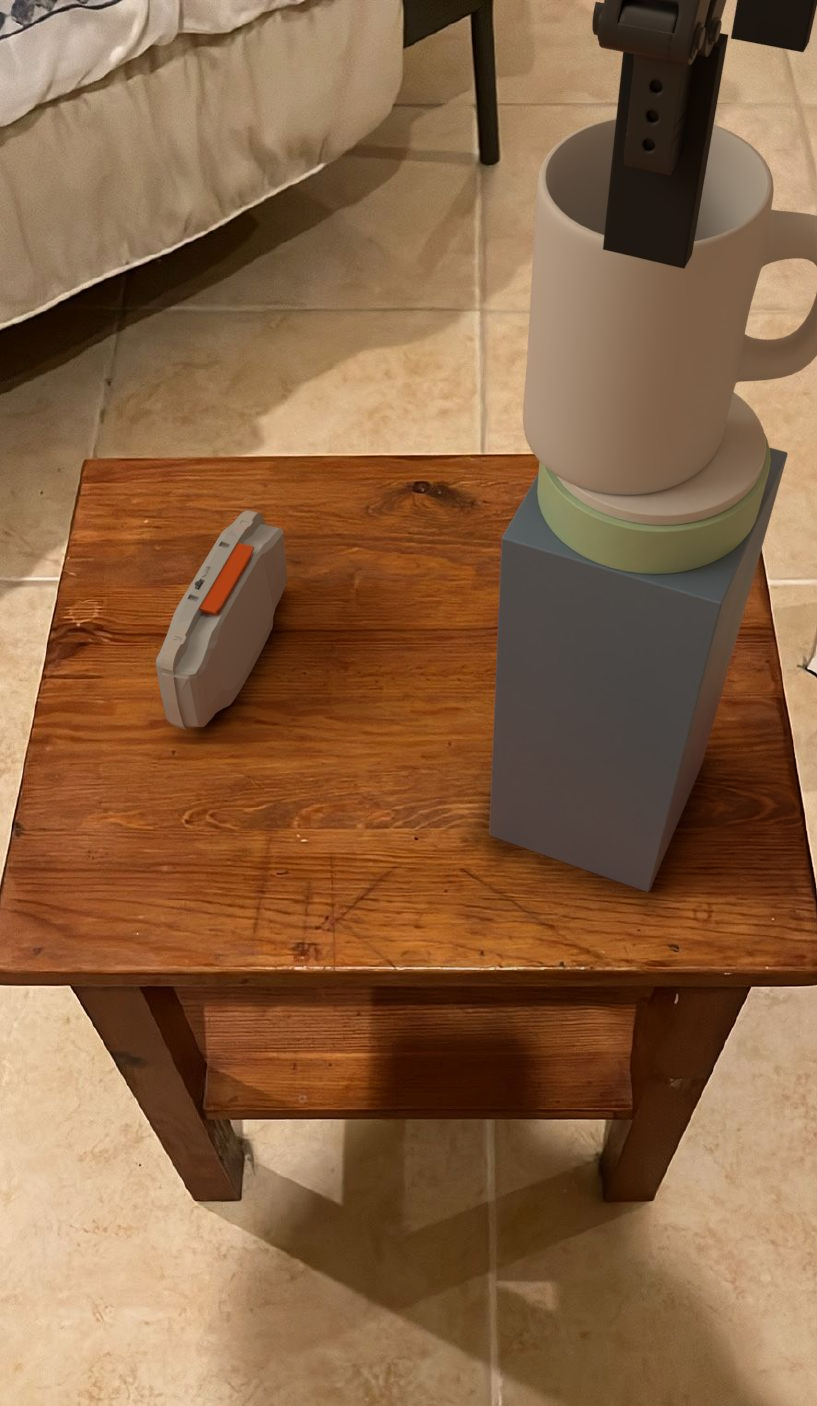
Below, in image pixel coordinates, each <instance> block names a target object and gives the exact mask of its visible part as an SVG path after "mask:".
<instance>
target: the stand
mask: <svg viewBox="0 0 817 1406" xmlns="http://www.w3.org/2000/svg"><path fill="white" fill-rule="evenodd" d="M769 448H770V458H771V462H770V469H769V474H768V478H767V481H766V485H765V489H764V493H763V496H762V500H761V504H760V508H759V512H758V515H757V518H756V521H755V523H754V525H753V527H752V529H751V531H750V533H749V534H748V535H747V536H746V538H745V539H744V540H743V541H742V542H741V543H740V544H739V545H738V546H737V547H736V548H735V549H734V550H732V551H731V552H729V553H728V554H727V555H725V556H724V557H722V558H720V559H718V560H716V561H714V562H712V563H710V564H707V565H705V566H702V567H699V568H696V569H692V570H688V571H684V572H677V573H670V574H639V573H633V572H626V571H621V570H617V569H613V568H609V567H607V566H604V565H601V564H598V563H596V562H593V561H591V560H589V559H587V558H585V557H583V556H582V555H580V554H578V553H577V552H575V551H573V550H572V549H571V548H569V547H568V546H567V545H566V544H564V543H563V542H562V541H561V540H560V539H559V538H558V537H557V536H556V535H555V534H554V533H553V531H552V530H551V528H550V527H549V526H548V524H547V523H546V521H545V519H544V517H543V515H542V513H541V509H540V506H539V503H538V494H537V489H538V475H539V472H538V473H537V475H536V477H535V478H534V480H533V481H532V483H531V485H530V487H529V489H528V490H527V492H526V494H525V496H524V498H523V499H522V501H521V503H520V505H519V507H518V508H517V510H516V512H515V513H514V514H513V517H512V519H511V521H510V522H509V524H508V526H507V528H506V529H505V531H504V533H503V535H502V536H501V543H500V544H501V545H500V564H499V565H500V568H499V589H498V591H499V593H498V617H497V637H496V640H497V641H496V660H495V661H496V662H495V664H496V665H495V685H494V687H495V688H494V706H493V707H494V709H493V710H494V711H493V732H492V733H493V734H492V754H491V755H492V756H491V757H492V758H491V777H490V778H491V779H490V801H489V802H490V804H489V805H490V806H489V825H488V826H489V828H488V831H489V832H488V835H489V836H490V837H493V838H494V839H498V840H500V841H503V842H505V843H509V844H512V845H515V846H517V847H520V848H523V849H525V850H528V851H532V852H534V853H537V854H540V855H543V856H545V857H548V858H550V859H553V860H556V861H559V862H562V863H564V864H568V865H570V866H573V867H576V868H579V869H581V870H584V871H587V872H590V873H592V874H595V875H598V876H601V877H604V878H607V879H610V880H612V881H614V882H617V883H621V884H623V885H626V886H629V887H632V888H635V889H637V890H641V891H643V892H646V893H650V891H651V889H652V887H653V884H654V881H655V879H656V877H657V875H658V872H659V870H660V867H661V865H662V862H663V860H664V857H665V855H666V852H667V851H668V848H669V845H670V843H671V840H672V838H673V835H674V833H675V831H676V829H677V827H678V823H679V821H680V819H681V816H682V814H683V811H684V808H685V807H686V804H687V802H688V799H689V797H690V794H691V792H692V791H693V788H694V785H695V782H696V780H697V778H698V776H699V773H700V770H701V768H702V766H703V763H704V759H705V755H706V752H707V748H708V745H709V741H710V737H711V733H712V731H713V726H714V723H715V719H716V716H717V715H716V714H717V712H718V708H719V704H720V701H721V698H722V694H723V691H724V686H725V683H726V679H727V676H728V673H729V668H730V665H731V661H732V658H733V654H734V650H735V647H736V642H737V639H738V636H739V633H740V629H741V626H742V621H743V617H744V615H745V610H746V607H747V603H748V599H749V596H750V592H751V589H752V585H753V581H754V578H755V574H756V571H757V567H758V564H759V559H760V556H761V552H762V549H763V545H764V541H765V538H766V535H767V530H768V527H769V523H770V520H771V517H772V513H773V509H774V505H775V502H776V498H777V495H778V491H779V487H780V483H781V480H782V476H783V472H784V469H785V466H786V462H787V458H788V452H787V451H784V450H781V449H777V448H773V447H769Z"/></svg>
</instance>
